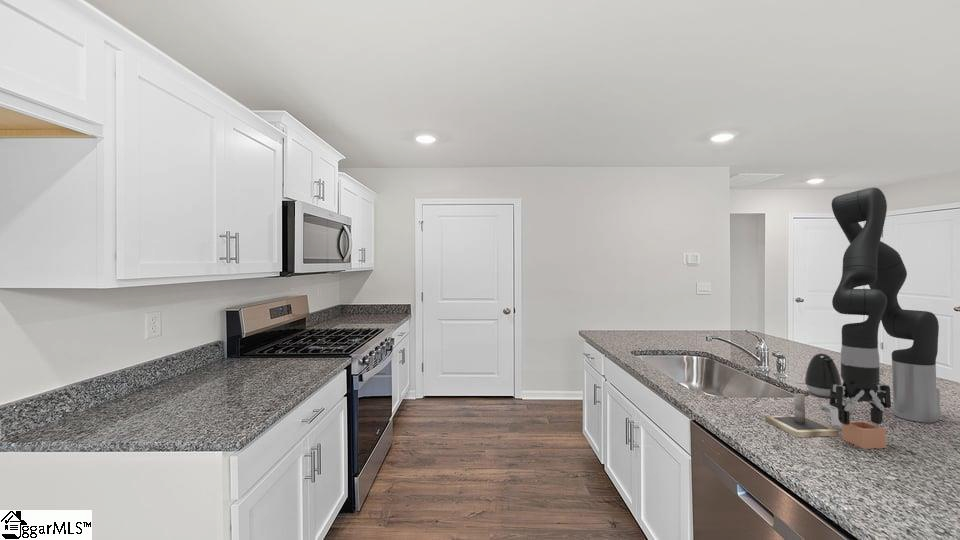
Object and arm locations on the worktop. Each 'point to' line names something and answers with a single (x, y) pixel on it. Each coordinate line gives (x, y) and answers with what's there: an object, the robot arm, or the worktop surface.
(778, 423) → the post plate
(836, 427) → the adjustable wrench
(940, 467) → the worktop surface
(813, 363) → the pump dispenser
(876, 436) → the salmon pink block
